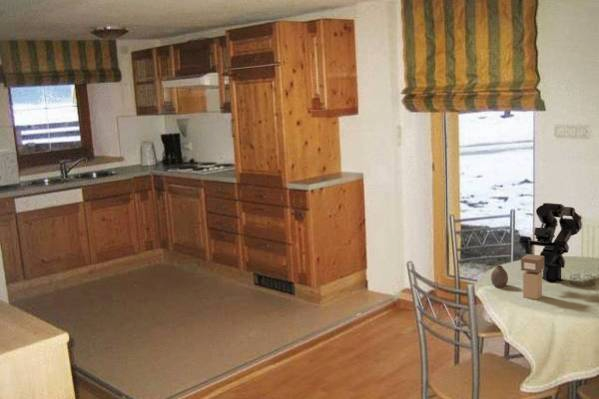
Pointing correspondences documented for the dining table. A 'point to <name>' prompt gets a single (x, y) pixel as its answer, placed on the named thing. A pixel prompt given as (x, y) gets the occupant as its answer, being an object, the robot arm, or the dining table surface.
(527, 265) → the lid
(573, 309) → the dining table surface
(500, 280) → the vase
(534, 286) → the mailer box
